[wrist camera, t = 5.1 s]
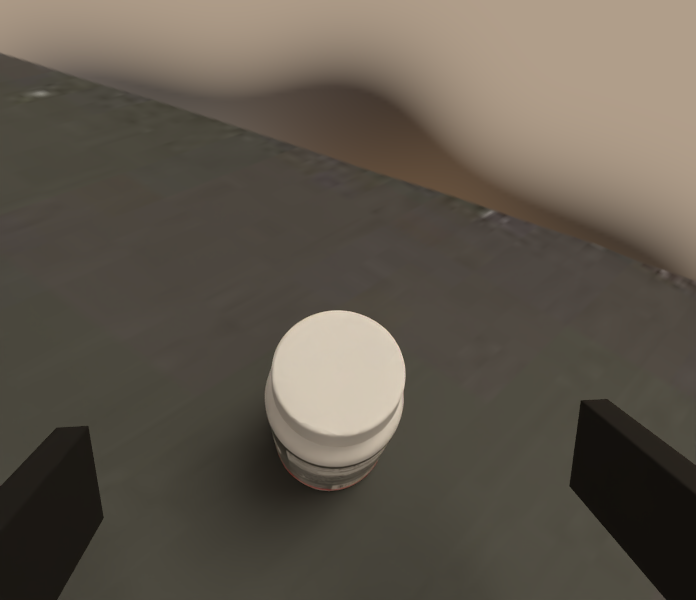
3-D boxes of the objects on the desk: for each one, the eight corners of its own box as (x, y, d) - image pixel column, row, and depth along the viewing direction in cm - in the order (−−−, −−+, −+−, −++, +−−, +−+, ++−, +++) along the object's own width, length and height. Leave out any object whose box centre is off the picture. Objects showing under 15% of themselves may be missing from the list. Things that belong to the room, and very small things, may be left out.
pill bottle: (290, 376, 23) (279, 284, 15) (388, 396, 22) (424, 311, 15) (263, 480, 20) (235, 429, 13) (373, 503, 20) (407, 464, 13)
